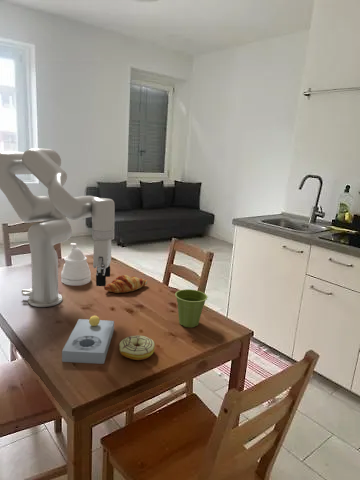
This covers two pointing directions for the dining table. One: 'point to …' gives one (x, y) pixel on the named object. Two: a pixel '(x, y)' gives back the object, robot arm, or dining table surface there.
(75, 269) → the honey pot
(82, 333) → the deck
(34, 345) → the dining table surface
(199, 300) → the plant pot
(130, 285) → the croissant
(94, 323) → the ball
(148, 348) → the decorated donut
